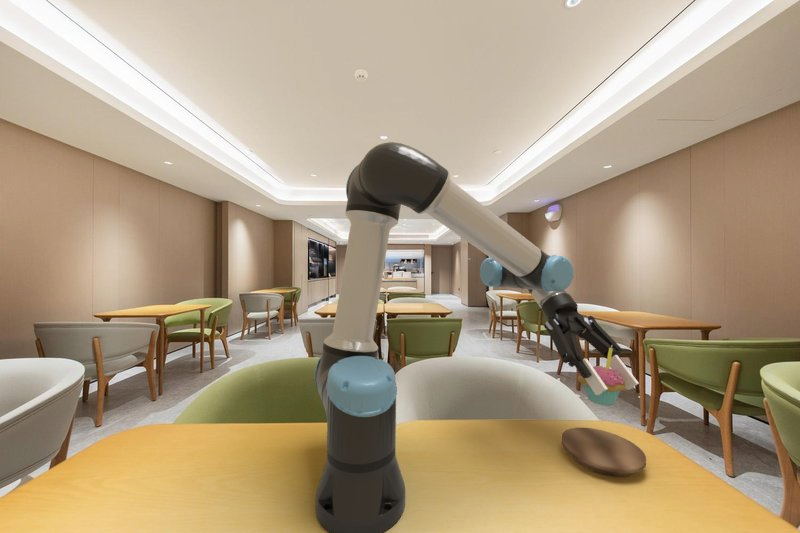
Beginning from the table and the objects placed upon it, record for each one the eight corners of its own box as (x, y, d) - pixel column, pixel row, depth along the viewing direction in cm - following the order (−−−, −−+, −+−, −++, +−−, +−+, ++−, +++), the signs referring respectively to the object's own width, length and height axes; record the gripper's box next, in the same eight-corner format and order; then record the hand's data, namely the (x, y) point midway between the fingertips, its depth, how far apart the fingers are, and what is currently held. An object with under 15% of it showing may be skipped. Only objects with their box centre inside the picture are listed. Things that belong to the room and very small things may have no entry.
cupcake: (611, 394, 71) (612, 340, 71) (635, 411, 62) (636, 350, 62) (571, 392, 72) (571, 339, 72) (589, 409, 63) (589, 348, 63)
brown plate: (586, 483, 59) (586, 467, 59) (548, 440, 74) (548, 427, 74) (666, 484, 59) (666, 468, 59) (612, 440, 74) (612, 427, 74)
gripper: (576, 308, 85) (639, 390, 70) (512, 312, 78) (567, 404, 63) (595, 290, 80) (666, 374, 65) (528, 292, 73) (591, 387, 58)
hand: (617, 389), depth 64 cm, fingers closed on cupcake, 8 cm apart
